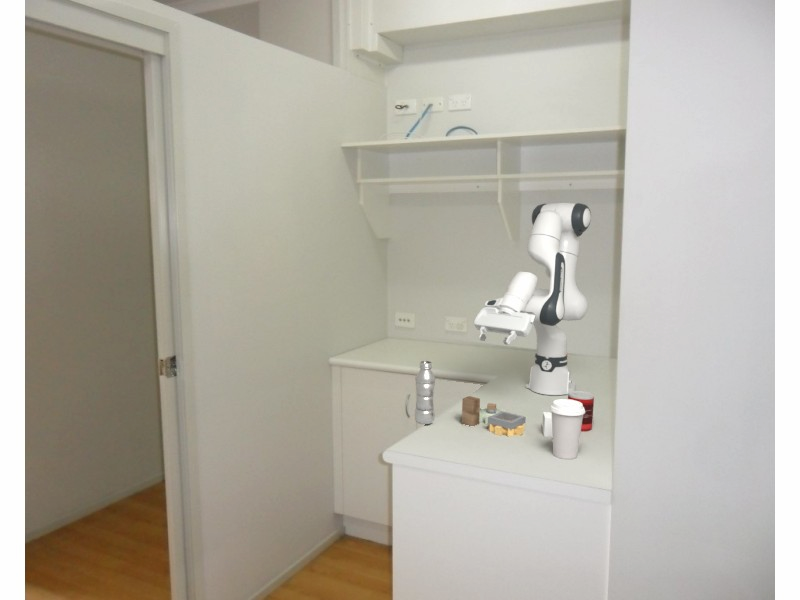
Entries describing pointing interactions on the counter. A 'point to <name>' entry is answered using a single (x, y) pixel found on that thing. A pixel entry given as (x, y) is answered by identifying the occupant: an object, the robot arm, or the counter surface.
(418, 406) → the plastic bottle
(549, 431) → the white cube
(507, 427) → the frame
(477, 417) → the peg
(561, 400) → the coffee cup
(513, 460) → the counter surface
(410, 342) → the counter surface
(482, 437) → the counter surface
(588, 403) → the canned food
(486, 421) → the gear
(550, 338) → the robot arm
